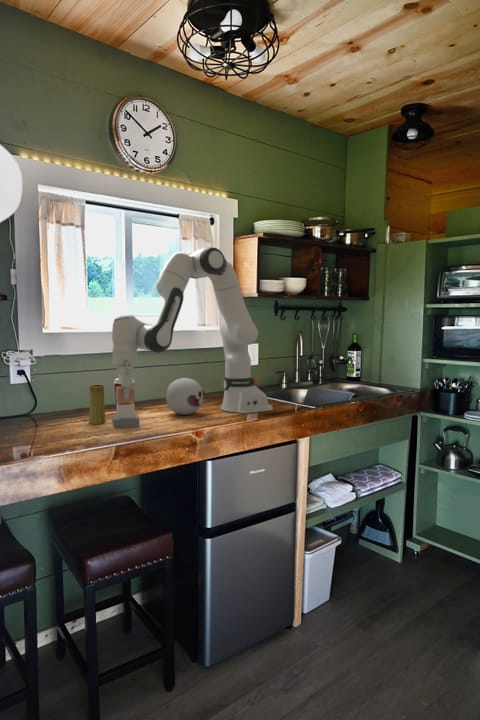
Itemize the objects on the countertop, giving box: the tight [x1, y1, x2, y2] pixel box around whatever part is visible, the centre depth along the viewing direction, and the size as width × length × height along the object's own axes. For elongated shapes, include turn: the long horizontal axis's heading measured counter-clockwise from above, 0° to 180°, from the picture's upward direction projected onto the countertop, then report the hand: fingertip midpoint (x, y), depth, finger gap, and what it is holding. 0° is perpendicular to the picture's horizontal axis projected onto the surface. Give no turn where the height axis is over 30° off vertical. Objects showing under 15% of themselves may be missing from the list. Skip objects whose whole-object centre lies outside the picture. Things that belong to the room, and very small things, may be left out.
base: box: [111, 412, 140, 429], centre depth 185 cm, size 9×9×3 cm
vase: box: [88, 383, 107, 425], centre depth 187 cm, size 6×6×14 cm
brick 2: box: [116, 402, 136, 419], centre depth 185 cm, size 6×6×5 cm
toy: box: [165, 377, 205, 416], centre depth 204 cm, size 15×15×15 cm
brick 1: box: [115, 386, 136, 403], centre depth 184 cm, size 6×6×5 cm
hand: (125, 396), depth 184 cm, fingers closed on brick 1, 6 cm apart
